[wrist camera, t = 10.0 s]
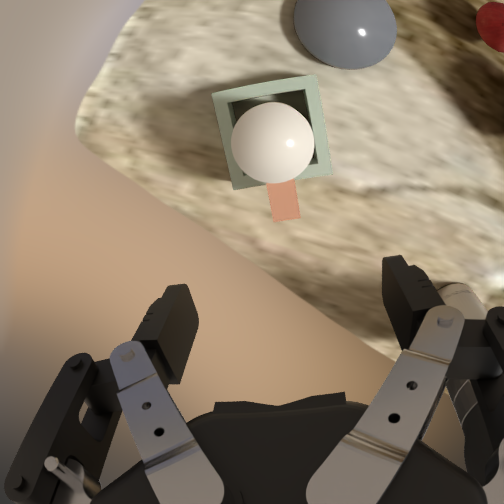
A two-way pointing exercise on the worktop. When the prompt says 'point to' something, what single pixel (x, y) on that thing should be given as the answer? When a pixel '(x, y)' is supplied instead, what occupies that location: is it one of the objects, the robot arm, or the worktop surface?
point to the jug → (274, 152)
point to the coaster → (346, 31)
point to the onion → (491, 25)
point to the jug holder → (306, 83)
